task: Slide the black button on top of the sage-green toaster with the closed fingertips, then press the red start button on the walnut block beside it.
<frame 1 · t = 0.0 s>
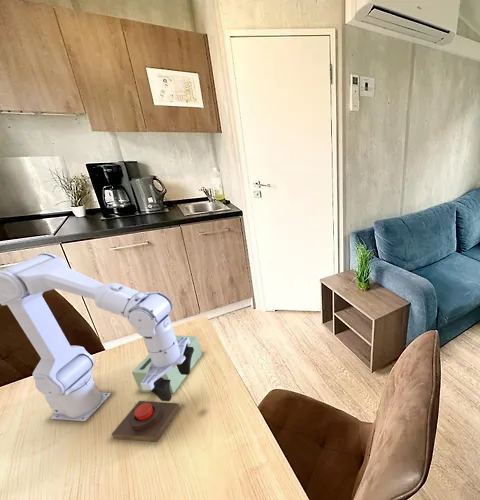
hand: (176, 386, 70), 10 cm above the table, tool pointing down, fingers open, 7 cm apart
smoothie: (78, 386, 82), on the table
browning slider: (167, 337, 88), point 9 cm above the table, slide at 0.0 cm
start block: (148, 422, 72), on the table
toaster: (173, 371, 87), on the table
start button: (144, 411, 71), point 4 cm above the table, slide at 0.1 cm
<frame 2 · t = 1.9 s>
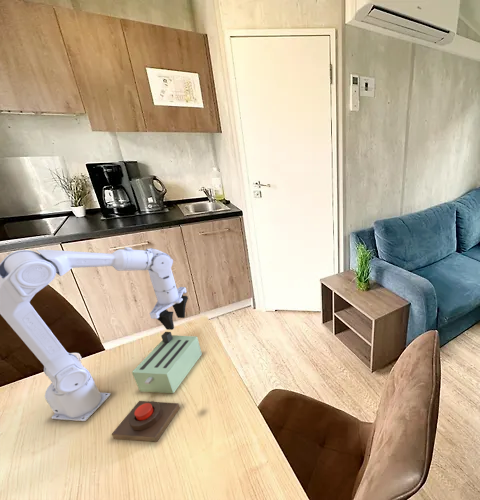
hand: (175, 322, 92), 10 cm above the table, tool pointing down, fingers open, 5 cm apart
nothing on the table moved.
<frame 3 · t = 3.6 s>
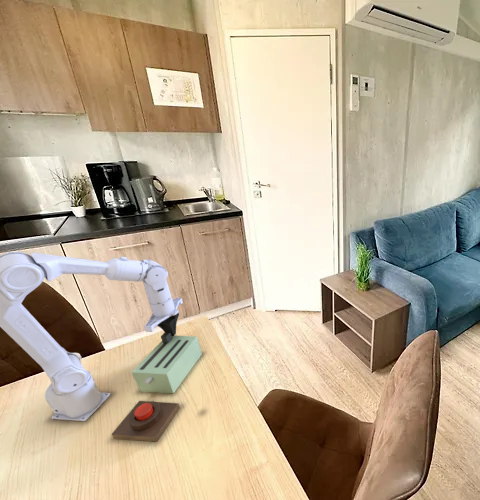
hand: (171, 334, 90), 8 cm above the table, tool pointing down, fingers closed
browning slider: (166, 337, 88), point 9 cm above the table, slide at 0.3 cm, touching gripper
everything else where it was.
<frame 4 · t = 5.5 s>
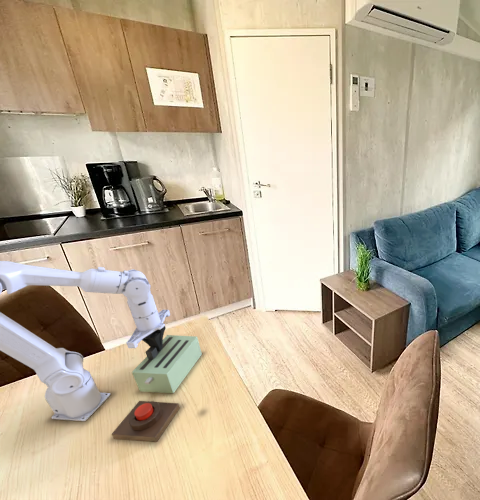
hand: (157, 349, 84), 8 cm above the table, tool pointing down, fingers closed
browning slider: (151, 353, 82), point 9 cm above the table, slide at 6.7 cm, touching gripper
everything else where it was.
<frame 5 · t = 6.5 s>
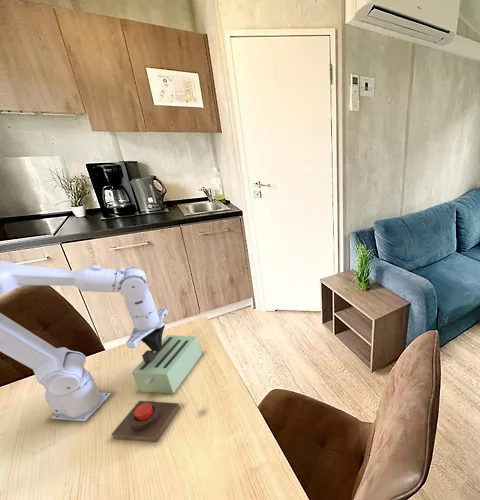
hand: (156, 349, 82), 10 cm above the table, tool pointing down, fingers closed
browning slider: (148, 356, 81), point 9 cm above the table, slide at 8.1 cm, touching gripper
everything else where it was.
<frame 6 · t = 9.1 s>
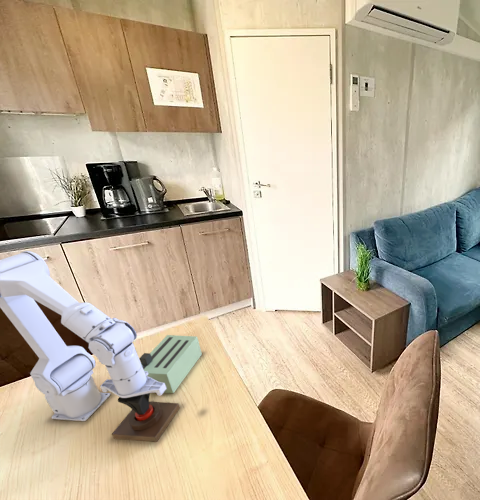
hand: (143, 410, 71), 4 cm above the table, tool pointing down, fingers closed, pressing on start button
browning slider: (146, 359, 80), point 9 cm above the table, slide at 9.1 cm
start button: (144, 413, 71), point 3 cm above the table, slide at -0.4 cm, touching gripper
everything else where it was.
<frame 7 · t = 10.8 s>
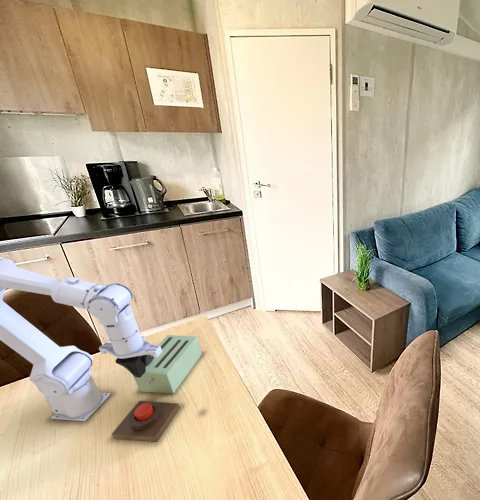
hand: (140, 374, 73), 10 cm above the table, tool pointing down, fingers closed
start button: (144, 411, 71), point 4 cm above the table, slide at 0.1 cm
everything else where it was.
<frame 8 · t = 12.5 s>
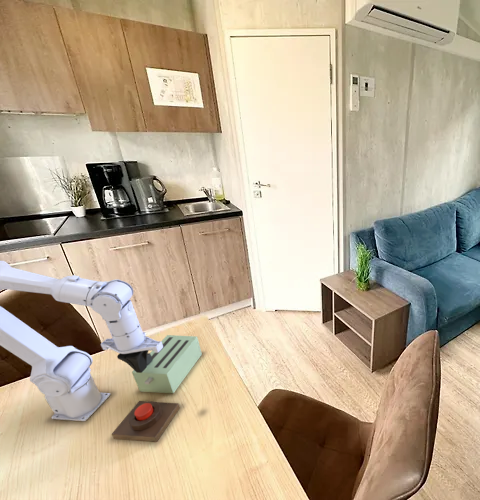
hand: (141, 369, 75), 10 cm above the table, tool pointing down, fingers closed
nothing on the table moved.
at the end: browning slider slide at 9.1 cm; start button pushed in 1.0 cm at the most during the clip, back to where it started at the end; start button slide at 0.1 cm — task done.
